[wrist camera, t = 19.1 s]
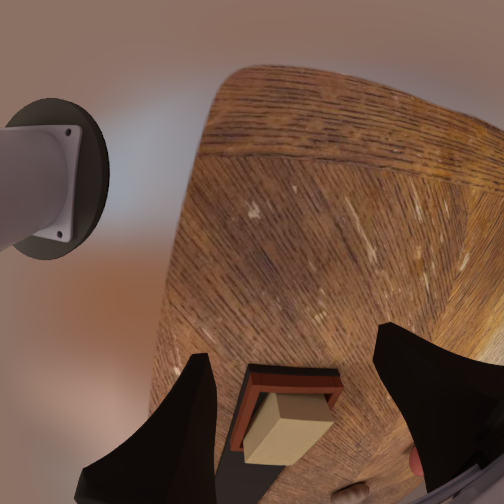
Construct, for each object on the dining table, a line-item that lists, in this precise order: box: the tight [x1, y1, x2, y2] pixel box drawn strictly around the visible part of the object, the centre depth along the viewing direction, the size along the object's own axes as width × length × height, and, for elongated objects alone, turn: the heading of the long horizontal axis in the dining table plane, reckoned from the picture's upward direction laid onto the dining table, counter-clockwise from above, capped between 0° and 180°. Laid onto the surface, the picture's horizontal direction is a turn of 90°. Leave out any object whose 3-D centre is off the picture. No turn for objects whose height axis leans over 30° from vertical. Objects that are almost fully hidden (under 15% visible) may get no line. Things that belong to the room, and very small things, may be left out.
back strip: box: [215, 364, 344, 504], centre depth 28 cm, size 8×40×2 cm, turn 168°
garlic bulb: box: [331, 484, 369, 504], centre depth 32 cm, size 8×7×8 cm
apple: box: [409, 446, 424, 476], centre depth 29 cm, size 7×7×8 cm
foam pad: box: [243, 392, 334, 465], centre depth 22 cm, size 5×8×4 cm, turn 160°
